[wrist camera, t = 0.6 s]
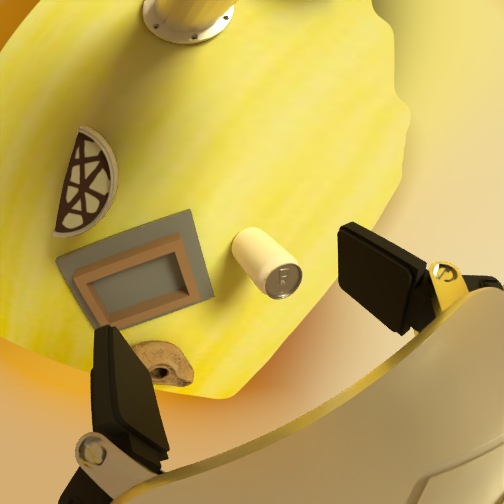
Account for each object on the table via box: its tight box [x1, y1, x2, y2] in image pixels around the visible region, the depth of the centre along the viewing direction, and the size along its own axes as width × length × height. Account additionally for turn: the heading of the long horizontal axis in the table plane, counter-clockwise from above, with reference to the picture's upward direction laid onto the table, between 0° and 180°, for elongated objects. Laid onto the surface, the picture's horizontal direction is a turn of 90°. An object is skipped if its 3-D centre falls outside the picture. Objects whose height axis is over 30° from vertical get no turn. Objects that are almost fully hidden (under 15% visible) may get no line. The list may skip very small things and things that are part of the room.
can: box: [232, 227, 302, 299], centre depth 40 cm, size 6×6×12 cm
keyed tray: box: [56, 209, 215, 331], centre depth 38 cm, size 16×22×4 cm
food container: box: [52, 125, 118, 237], centre depth 27 cm, size 12×6×10 cm, turn 154°
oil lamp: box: [132, 341, 194, 387], centre depth 45 cm, size 11×15×8 cm
